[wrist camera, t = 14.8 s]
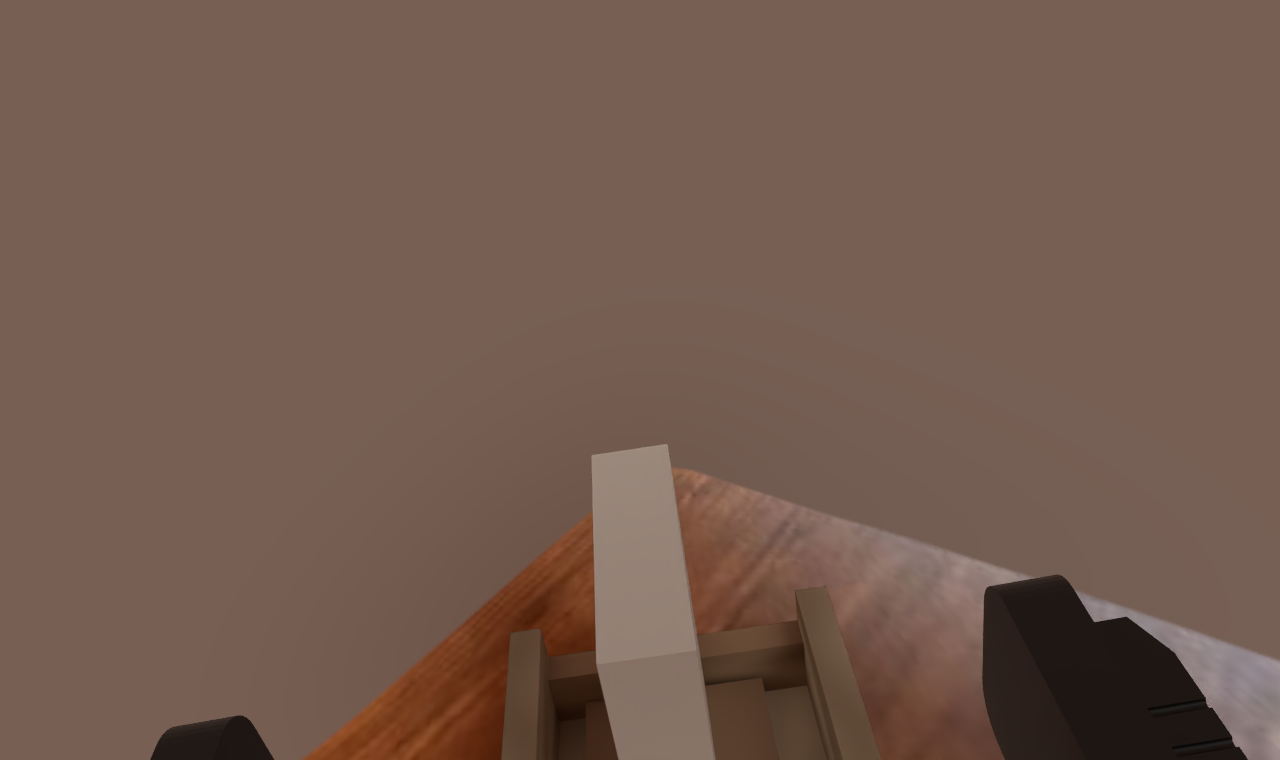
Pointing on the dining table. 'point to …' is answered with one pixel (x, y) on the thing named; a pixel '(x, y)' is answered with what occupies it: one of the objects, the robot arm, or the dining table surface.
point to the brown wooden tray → (778, 653)
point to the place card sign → (656, 631)
